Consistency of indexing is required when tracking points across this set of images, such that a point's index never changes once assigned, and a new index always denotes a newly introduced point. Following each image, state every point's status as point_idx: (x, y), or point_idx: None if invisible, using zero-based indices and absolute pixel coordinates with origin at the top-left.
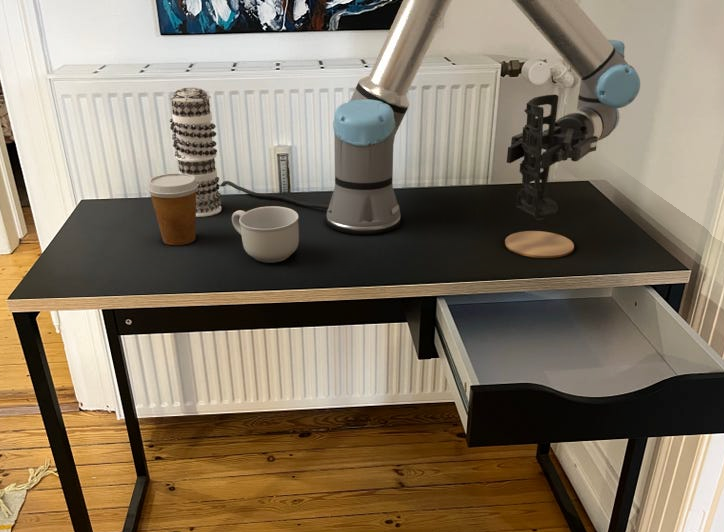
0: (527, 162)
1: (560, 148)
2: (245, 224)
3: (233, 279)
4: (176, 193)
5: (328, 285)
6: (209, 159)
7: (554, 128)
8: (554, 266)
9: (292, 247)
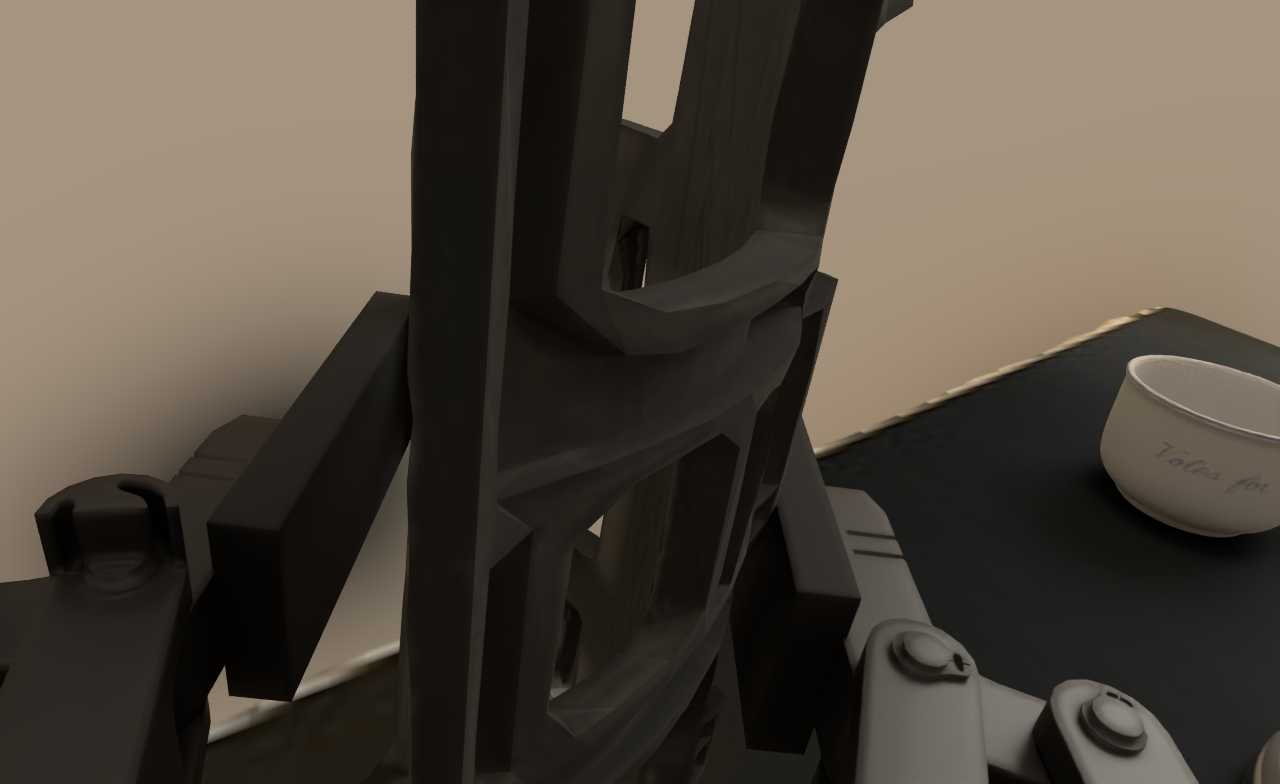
0: (601, 556)
1: (216, 551)
2: (1274, 420)
3: (1064, 405)
4: None
5: (892, 435)
6: None
7: (412, 701)
8: None
9: (1114, 456)
